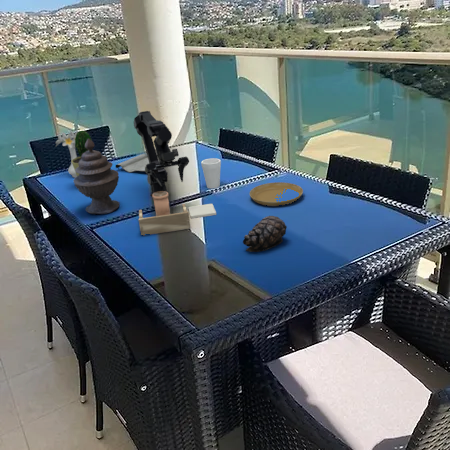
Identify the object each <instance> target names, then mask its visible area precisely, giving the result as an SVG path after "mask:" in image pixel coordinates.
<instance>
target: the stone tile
mask: <svg viewBox="0 0 450 450" xmlns="http://www.w3.org/2000/svg"><path fill="white" fill-rule="evenodd" d="M213 204H214V203H206V204H200V205H193V206H188V207H187V209H188V210H187V211H188V212H189V218H190V219H197V218H204V217H210V216H217V211H216V209H215V207H214V205H213Z"/></svg>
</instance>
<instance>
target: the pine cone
mask: <svg viewBox="0 0 450 450" xmlns="http://www.w3.org/2000/svg"><path fill="white" fill-rule="evenodd" d="M287 228H288V226H287V225H286V223H285V221H284V220H282V219H281V218H280V217H278V216H274V215H268V216H265V217H263V218H262V219H261V220H260V221H259V222H257V223H256V224H254V226H253V228H251V230H249V231H248V234H245V235H244V237H243V238H244V239H243V240H242V244H243V245H245V246H246V247H247V248H246V250H245V251H246V252H250V253H251V252H252V253H253V252H254V253H255V252H257V253H258V252H263V251H264V252H265V251H267V250H269V249H272V248H275V247H276V246H278V245H280V244H282V243H283V242H284V240H283V238H284V236H285V235H287V234H286V233H287Z"/></svg>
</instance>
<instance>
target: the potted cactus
mask: <svg viewBox="0 0 450 450" xmlns="http://www.w3.org/2000/svg"><path fill="white" fill-rule="evenodd" d="M76 132H77V131H76ZM86 132H87V131H86V129H85V130H80V129H79V130H78V132H77V134H76V135H75V134H74V135H75V136H76V138H75V149H76V151H77V154H78V156H77V158H74V159H73V160H72V161H71V162H72V164H73V167H74V170H75V169H76V168H77V167H79V164H78V163H79V161H80V160H81V159H82V158H81V156H82V154H83V153H85V152H86V151H88V149H86V148H85V143H86V141H87V140H88V138H89V139H90V140H91V141H92V138H91V137H92V136H91V135H90V132H89V133H88V132H87V133H86ZM76 175H77V176H78V175H79V173H76Z"/></svg>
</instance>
